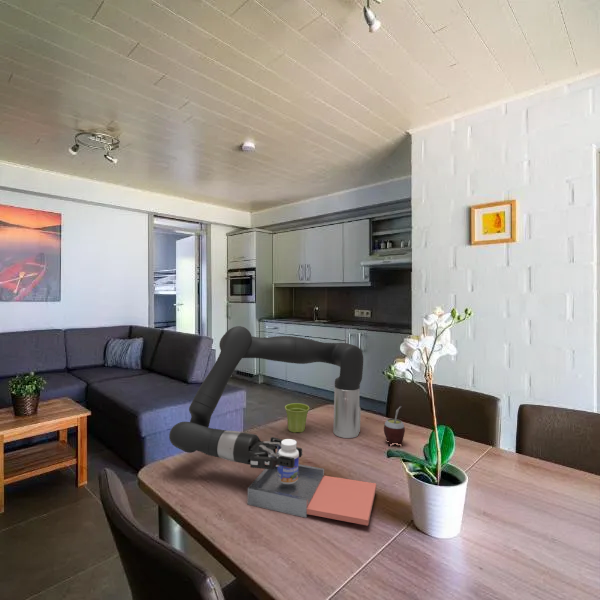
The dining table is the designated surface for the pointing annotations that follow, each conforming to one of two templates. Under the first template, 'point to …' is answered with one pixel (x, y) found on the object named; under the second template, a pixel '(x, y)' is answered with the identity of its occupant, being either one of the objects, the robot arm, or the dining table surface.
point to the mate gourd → (394, 430)
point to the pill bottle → (288, 473)
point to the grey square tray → (285, 491)
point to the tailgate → (343, 500)
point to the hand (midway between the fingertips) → (297, 457)
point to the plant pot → (296, 416)
